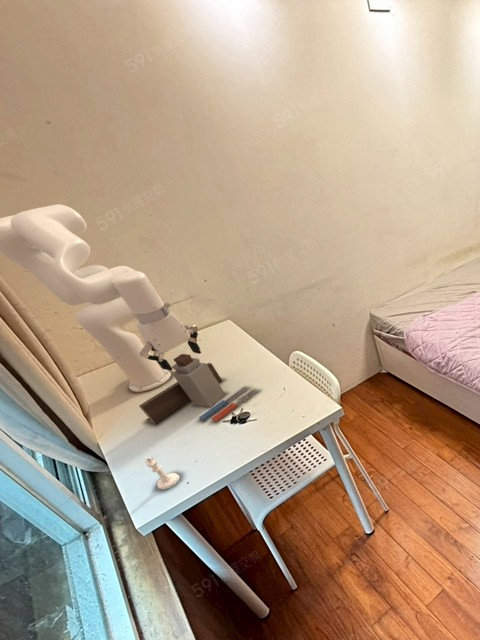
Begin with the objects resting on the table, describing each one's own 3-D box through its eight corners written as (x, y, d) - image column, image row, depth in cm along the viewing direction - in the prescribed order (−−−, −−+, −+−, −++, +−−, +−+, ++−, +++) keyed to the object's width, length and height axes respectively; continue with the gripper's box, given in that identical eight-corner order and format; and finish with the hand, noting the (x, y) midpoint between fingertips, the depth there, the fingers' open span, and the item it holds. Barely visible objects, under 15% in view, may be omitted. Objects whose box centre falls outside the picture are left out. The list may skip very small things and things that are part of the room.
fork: (212, 420, 125) (210, 418, 124) (252, 390, 137) (251, 388, 136) (217, 422, 124) (216, 420, 124) (258, 392, 136) (257, 389, 135)
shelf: (147, 421, 126) (131, 403, 121) (213, 378, 143) (201, 360, 138) (156, 425, 124) (141, 406, 120) (222, 380, 142) (211, 363, 137)
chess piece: (154, 486, 105) (130, 462, 99) (171, 472, 109) (150, 448, 102) (166, 491, 103) (143, 467, 97) (183, 477, 107) (162, 453, 101)
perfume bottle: (210, 406, 130) (181, 364, 119) (194, 404, 132) (163, 362, 121) (225, 394, 136) (198, 352, 125) (209, 392, 137) (181, 350, 126)
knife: (200, 419, 126) (198, 417, 125) (244, 388, 138) (242, 385, 137) (204, 421, 125) (203, 419, 124) (248, 389, 137) (247, 387, 137)
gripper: (172, 299, 121) (200, 344, 131) (112, 326, 108) (148, 374, 119) (189, 302, 118) (215, 348, 129) (129, 330, 106) (164, 379, 116)
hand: (183, 360), depth 124 cm, fingers open, 9 cm apart
